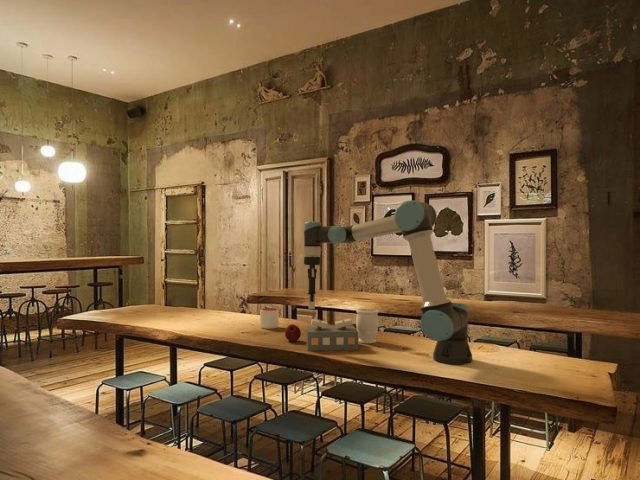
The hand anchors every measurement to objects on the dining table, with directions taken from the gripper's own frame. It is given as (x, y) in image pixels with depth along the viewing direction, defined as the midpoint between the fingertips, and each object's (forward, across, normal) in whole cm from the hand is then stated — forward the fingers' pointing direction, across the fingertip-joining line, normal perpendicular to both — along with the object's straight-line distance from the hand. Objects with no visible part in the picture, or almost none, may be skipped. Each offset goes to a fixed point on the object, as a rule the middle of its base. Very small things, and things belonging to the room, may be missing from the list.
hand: (311, 308), depth 212 cm
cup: (+18, +49, +20) cm, 56 cm away
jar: (+17, +9, -27) cm, 33 cm away
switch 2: (+7, 0, -14) cm, 16 cm away
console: (+17, 0, -9) cm, 19 cm away
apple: (+18, +13, +8) cm, 23 cm away
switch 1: (+7, 0, -4) cm, 7 cm away
